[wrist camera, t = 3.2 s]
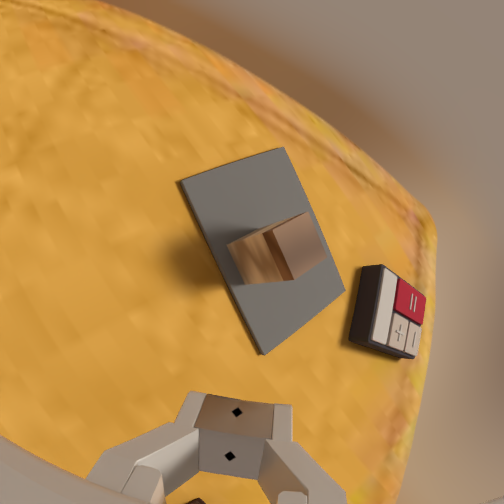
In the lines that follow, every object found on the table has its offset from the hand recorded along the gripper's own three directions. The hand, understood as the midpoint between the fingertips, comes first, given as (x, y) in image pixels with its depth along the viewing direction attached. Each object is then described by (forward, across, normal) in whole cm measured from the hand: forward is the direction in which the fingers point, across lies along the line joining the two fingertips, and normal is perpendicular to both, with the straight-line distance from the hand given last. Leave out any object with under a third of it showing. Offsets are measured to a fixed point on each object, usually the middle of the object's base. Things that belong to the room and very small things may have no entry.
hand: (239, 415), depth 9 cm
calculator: (+38, -18, +11) cm, 44 cm away
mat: (+29, 0, 0) cm, 29 cm away
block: (+26, +2, +1) cm, 26 cm away
